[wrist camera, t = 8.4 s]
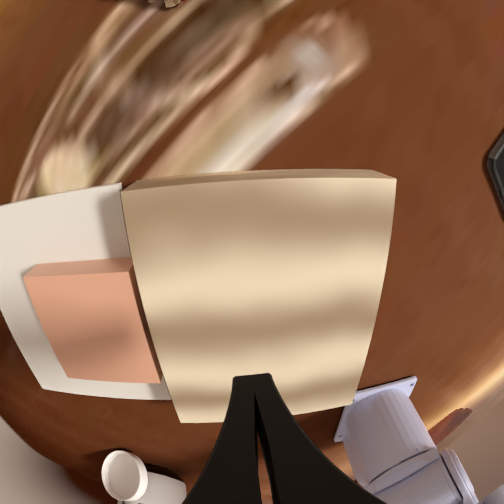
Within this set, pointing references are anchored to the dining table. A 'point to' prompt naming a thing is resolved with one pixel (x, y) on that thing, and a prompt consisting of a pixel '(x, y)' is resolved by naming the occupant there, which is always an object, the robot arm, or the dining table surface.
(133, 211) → the block
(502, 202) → the phone
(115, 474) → the spread jar
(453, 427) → the wooden tablet
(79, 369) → the tile
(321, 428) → the dining table surface
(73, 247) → the mat
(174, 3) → the woven mat
